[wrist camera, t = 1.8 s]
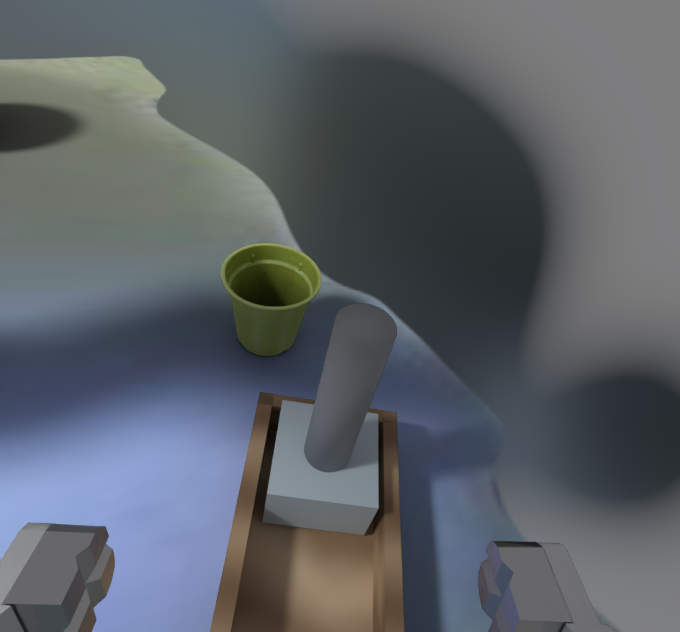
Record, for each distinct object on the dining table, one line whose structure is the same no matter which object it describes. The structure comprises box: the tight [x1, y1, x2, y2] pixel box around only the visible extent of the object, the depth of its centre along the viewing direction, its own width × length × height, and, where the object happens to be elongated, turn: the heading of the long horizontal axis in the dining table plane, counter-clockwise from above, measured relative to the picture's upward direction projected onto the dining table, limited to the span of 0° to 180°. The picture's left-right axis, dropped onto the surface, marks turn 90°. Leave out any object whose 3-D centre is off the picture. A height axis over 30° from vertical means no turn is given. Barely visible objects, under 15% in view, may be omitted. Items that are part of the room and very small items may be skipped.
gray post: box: [262, 303, 397, 535], centre depth 34 cm, size 8×8×19 cm
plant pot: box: [221, 243, 321, 356], centre depth 49 cm, size 9×9×9 cm
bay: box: [210, 392, 404, 632], centre depth 37 cm, size 18×12×4 cm, turn 177°
